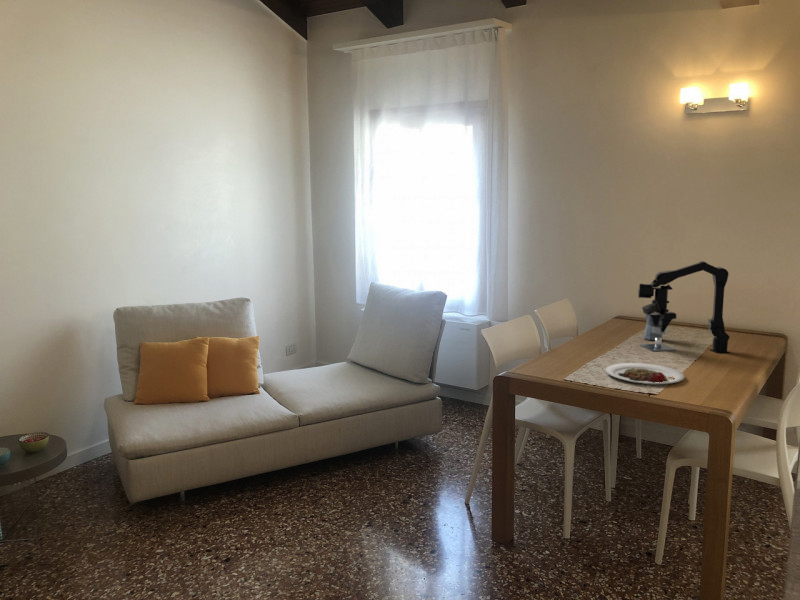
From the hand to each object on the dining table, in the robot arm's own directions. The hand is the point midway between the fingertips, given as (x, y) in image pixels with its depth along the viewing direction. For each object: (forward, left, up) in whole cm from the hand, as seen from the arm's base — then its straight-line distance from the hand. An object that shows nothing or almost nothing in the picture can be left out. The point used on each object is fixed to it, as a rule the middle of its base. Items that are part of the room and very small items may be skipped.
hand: (659, 330), depth 308 cm
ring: (0, 0, -1) cm, 1 cm away
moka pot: (+18, -8, -9) cm, 22 cm away
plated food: (-45, +32, -9) cm, 56 cm away
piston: (0, 0, -9) cm, 9 cm away
